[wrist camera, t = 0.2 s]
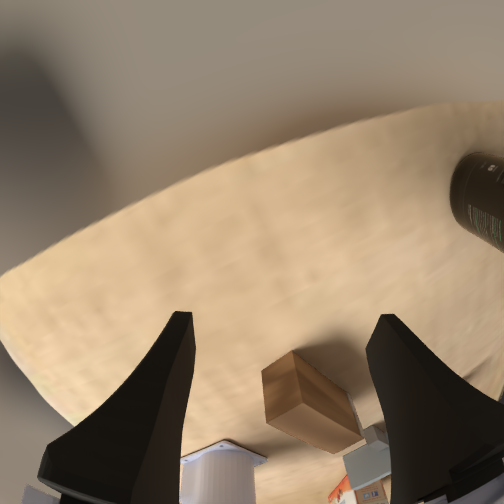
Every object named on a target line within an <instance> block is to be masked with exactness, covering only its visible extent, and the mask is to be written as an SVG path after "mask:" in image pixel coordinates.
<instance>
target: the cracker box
mask: <svg viewBox="0 0 504 504" xmlns="http://www.w3.org/2000/svg"><path fill="white" fill-rule="evenodd" d="M328 499H329V504H389V503H388V500H387V496H386V493H385V490H384V486H383V483H382V480H381V479H379V480H377V481H375V482H373V483H371V484H369V485H367V486H365V487H363V488H360V489H358V490H352V489H351V487H350V483H349V479H348V475H346V477H345V478H344V479H343V480H342V482H341V483H340V484H339V485H338V486H337V488H336V489H335V490H334V491H333V492H332V493H331V495H330V496H329V497H328Z"/></svg>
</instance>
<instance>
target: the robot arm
mask: <svg viewBox="0 0 504 504" xmlns="http://www.w3.org/2000/svg"><path fill="white" fill-rule="evenodd" d="M195 353H196V345H195V336H194V327H193V317H192V312H181V311H175V312H174V313H173V314H172V316H171V318H170V319H169V321H168V323H167V324H166V326H165V328H164V329H163V331H162V332H161V334H160V335H159V337H158V339H157V340H156V341H155V343H154V344H153V346H152V347H151V349H150V350H149V351H148V353H147V354H146V356H145V357H144V358H143V359H142V361H141V362H140V363H139V365H138V366H137V367H136V368H135V370H134V371H133V372H132V373H131V375H130V376H129V377H128V378H127V379H126V380H125V381H124V383H123V384H122V385H121V386H120V387H119V388H118V389H117V390H116V391H115V392H114V393H113V394H112V395H111V396H110V397H109V398H108V399H107V400H106V401H105V402H104V403H103V404H102V405H101V406H100V407H99V408H97V409H96V410H95V411H94V412H93V413H92V414H90V415H89V416H88V417H87V418H85V419H84V420H83V421H82V422H80V423H79V424H78V425H76V426H75V427H74V428H73V429H71V430H70V431H68V432H67V433H65V434H63V435H62V436H60V437H59V438H57V439H56V440H54V441H53V442H51V443H49V444H48V445H47V447H46V450H45V452H44V454H43V457H42V461H41V464H40V468H39V471H38V475H37V478H38V480H39V481H40V482H42V483H44V484H45V485H47V486H49V487H50V488H52V489H54V490H56V491H58V492H60V493H62V494H61V499H58V498H56V497H54V496H52V495H49V494H47V493H45V492H43V491H40V490H38V489H36V488H34V487H32V486H30V485H25V489H24V493H23V497H22V502H21V504H179V483H180V463H181V464H183V472H182V482H181V492H180V501H181V504H256V494H255V477H254V467H255V466H258V465H260V464H263V463H265V462H267V461H268V459H267V458H265V457H263V456H260V455H258V454H255V453H253V452H251V451H248V450H246V449H244V448H241V447H239V446H237V445H235V444H232V443H230V442H228V441H221V442H219V443H216V444H214V445H212V446H210V447H207V448H205V449H203V450H200V451H198V452H195V453H193V454H190V455H188V456H185V457H183V458H181V443H182V431H183V424H184V418H185V413H186V408H187V403H188V398H189V393H190V388H191V383H192V379H193V374H194V364H195ZM366 354H367V360H368V365H369V370H370V373H371V377H372V380H373V383H374V386H375V389H376V392H377V395H378V398H379V402H380V405H381V408H382V411H383V415H384V419H385V423H386V428H387V434H388V441H389V449H390V459H391V500H390V504H418V503H421V502H424V504H504V462H503V461H502V458H503V457H504V405H503V404H501V403H499V402H498V401H496V400H494V399H492V398H490V397H489V396H487V395H485V394H484V393H482V392H481V391H479V390H478V389H476V388H475V387H473V386H472V385H470V384H469V383H468V382H466V381H465V380H464V379H462V378H461V377H460V376H459V375H457V374H456V373H455V372H454V371H452V370H451V369H450V368H449V367H448V366H447V365H446V364H445V363H443V362H442V361H441V360H440V359H439V358H438V357H437V356H436V355H435V354H434V353H433V352H432V351H431V350H430V349H429V348H428V347H427V346H426V345H425V344H424V343H423V342H422V341H421V340H420V339H419V338H418V337H417V336H416V335H415V334H414V333H413V332H412V331H411V330H410V329H409V328H408V327H407V326H406V325H405V324H404V323H403V322H402V321H401V320H400V319H399V318H398V317H397V316H396V315H395V314H381V316H380V318H379V320H378V322H377V325H376V327H375V329H374V331H373V334H372V336H371V338H370V340H369V342H368V344H367V346H366Z"/></svg>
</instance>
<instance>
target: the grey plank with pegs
mask: <svg viewBox="0 0 504 504" xmlns="http://www.w3.org/2000/svg"><path fill="white" fill-rule="evenodd" d="M363 432H364V435H365V439H366V442H367V444H366V445H364V446H362V447H360V448H358V449H356V450H355V451H353V452H351V453H349V454H347V455H345V456H343V460H344V464H345V468H346V471H347V475H348V479H349V483H350V487H351V489H352V490H358V489H360V488H363V487H365V486H367V485H369V484H371V483H373V482H375V481H377V480H379V479H381V478H383V477H385V476H387V475H389V474H391V459H390V449H389V441H388V434H387V433H384V432H383V431H381V430H380V429H378V428H376V427H375V426H373V425H372V426H370V427H368V428H366V429H365V430H363Z"/></svg>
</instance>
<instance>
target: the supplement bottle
mask: <svg viewBox="0 0 504 504" xmlns="http://www.w3.org/2000/svg"><path fill="white" fill-rule="evenodd" d="M450 205H451V209H452V213H453V215H454V217H455V219H456V221H457V222H458V223H459V225H461V226H462V227H463V228H464V229H466V230H467V231H469V232H471V233H472V234H474V235H476V236H477V237H479V238H481V239H482V240H484V241H485V242H487V243H489V244H490V245H492V246H493V247H495V248H497V249H498V250H500V251H501V252H503V253H504V158H501V157H497V156H493V155H489V154H484V153H473V154H470V155H468V156H467V157H465V158H464V159H463V160H462V161H461V162H460V164H459V165H458V166H457V168H456V170H455V172H454V175H453V177H452V181H451V186H450Z"/></svg>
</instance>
